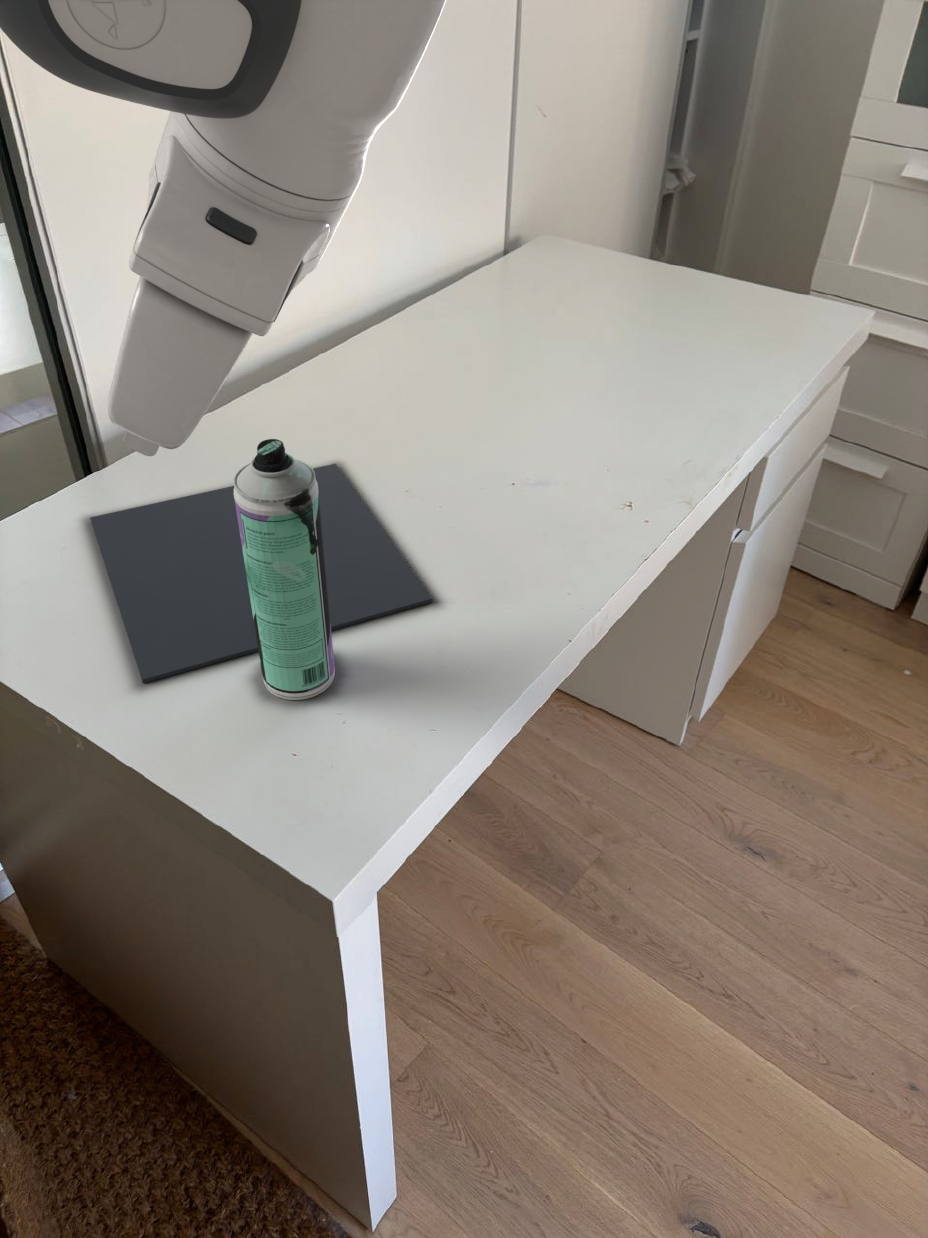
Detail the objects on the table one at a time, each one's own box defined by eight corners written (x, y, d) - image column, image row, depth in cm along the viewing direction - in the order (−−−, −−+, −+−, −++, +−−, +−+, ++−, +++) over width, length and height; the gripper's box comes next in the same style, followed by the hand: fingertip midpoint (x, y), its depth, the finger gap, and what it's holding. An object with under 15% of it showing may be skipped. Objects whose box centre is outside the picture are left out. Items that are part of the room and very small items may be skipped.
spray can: (346, 661, 75) (328, 432, 63) (315, 708, 71) (289, 473, 59) (283, 645, 77) (253, 418, 64) (249, 690, 73) (210, 457, 60)
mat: (143, 683, 73) (142, 679, 73) (90, 520, 90) (89, 517, 89) (432, 602, 81) (432, 598, 81) (335, 466, 98) (335, 463, 97)
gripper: (235, 72, 52) (159, 274, 61) (124, 258, 39) (48, 482, 48) (340, 136, 54) (252, 322, 64) (270, 333, 41) (171, 534, 50)
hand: (164, 393), depth 56 cm, fingers open, 8 cm apart
